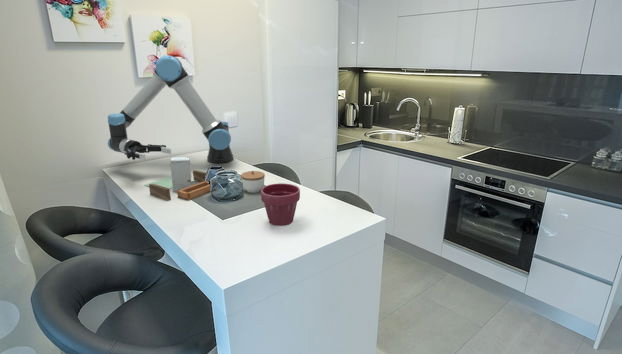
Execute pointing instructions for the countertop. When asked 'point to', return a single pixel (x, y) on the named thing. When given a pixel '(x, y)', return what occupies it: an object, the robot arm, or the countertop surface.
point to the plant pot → (280, 202)
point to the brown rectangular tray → (194, 191)
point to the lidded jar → (253, 181)
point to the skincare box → (180, 173)
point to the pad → (163, 183)
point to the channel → (165, 192)
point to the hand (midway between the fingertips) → (157, 154)
